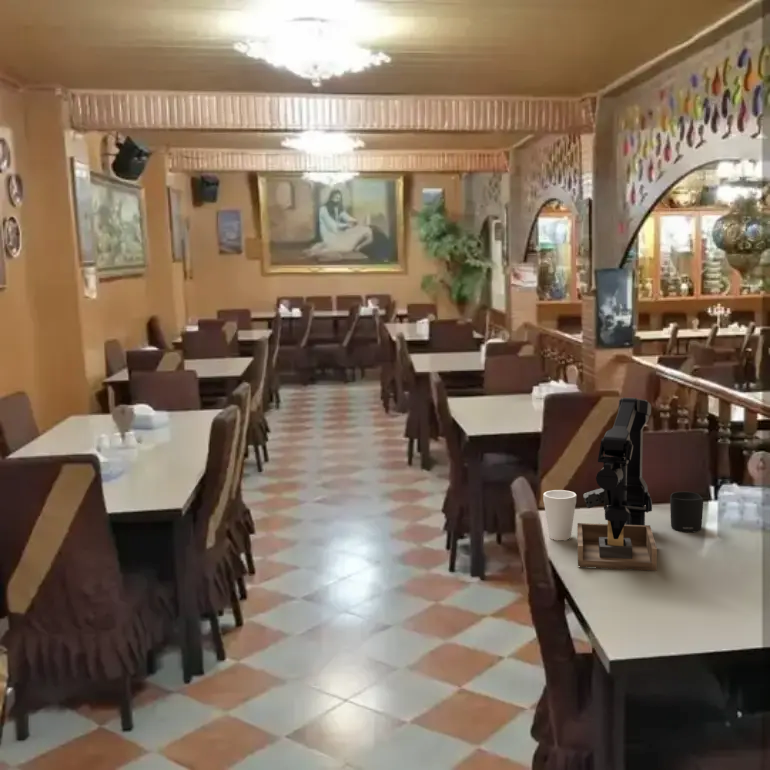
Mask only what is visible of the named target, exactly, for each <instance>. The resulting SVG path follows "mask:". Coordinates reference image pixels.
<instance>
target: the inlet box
mask: <svg viewBox="0 0 770 770" xmlns="http://www.w3.org/2000/svg"><path fill="white" fill-rule="evenodd" d="M654 537H655V536H654V534H653V530H652V528H651V525H648V524H647V525H646V524H645V525H624V530H623V546H612V545H608V543H607V542H608V523H586V522H585V523H582V522H581V523H580V522H577V538H576V539H577V540H576V541H577V543H576V544H578V545H577V567H578V566H580V567H596V568H595V569H601V568H608V569H607V570H624V569H634V570H633V571H647V570H651V571H650V572H652V570H653V572H657V569H658V568H657V566H658V565H657V562H658V560H657V559H658V555H657V553H658V548H657V544H656V541H655V538H654ZM611 568H612V569H611ZM654 570H655V571H654Z"/></svg>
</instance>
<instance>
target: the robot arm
mask: <svg viewBox="0 0 770 770" xmlns="http://www.w3.org/2000/svg"><path fill="white" fill-rule="evenodd" d="M651 414H652V405H651V403H650V402H649V401H648V399H639V398H637V397H623V398H621V397H620V399H619V400H618V410H617V415H616V418H615V420H614V424H613V426H612V428H610V429H608V430H606V432H605V434H604V436H603V438H601V441H600V445H599V452H598V458H597V462H598V463H603V467H602V468H601V469H600V470H599V471H598V472H597V474H596V477H595V480H596V484H597V486H599V488H596V489H594V490H590V491H587V492H585V493H583V494H582V495H583V500H584V503H585V505H586V508H587V509H591V508H594V507H596V506H598V505H599V506H600V505H601V504H603V509H604V520H605V521H608V520H609V521H610V522H611V527H612V533H613V538H614V539H618V537H619V535H620V533H621V531H622V529H623V527H624V525H646V513H649V512H652V511H653V502H652V497H651V496H650V492H648V484H647V483H646V481H645V479H644V478H643V452H644V451H643V450H644V449H643V446H644V445H643V442H644V440H643V438H644V428H645V426H646V425H647V424H648V421H649V419H650V416H651Z"/></svg>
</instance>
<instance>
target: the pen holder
mask: <svg viewBox="0 0 770 770" xmlns="http://www.w3.org/2000/svg"><path fill="white" fill-rule="evenodd" d="M669 498H670V499H669V503H670V505H669V507H670V510H669V511H670V512H669V513H670V527H671V528H672V530H674V529H675V530H674V531H677V530H678V532H681V531H682V532H683V533H696V532H699V531H701V529H702V526H703V525H702V523H703V513H704V512H703V511H704V510H703V509H704V498H703V497H702V496H701V495H700V494H699V493H696V492H692V491H675V492H672V493H671V494H670V495H669Z"/></svg>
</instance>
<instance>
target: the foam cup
mask: <svg viewBox="0 0 770 770" xmlns="http://www.w3.org/2000/svg"><path fill="white" fill-rule="evenodd" d="M542 496H543V500H542V501H543V505H544V511H545V517H546V518H545V519H546V525H547V533H548V538H549V539H550V540H553V539H554V540H553V541H558V540H564V541H568V540H567V539H569V538H570V539H571V538H572V533H573V532H572V531H573V525H574V517H575V509H576V504H577V494H576V492H574V491H570V490H564V489H553V490H547V491H545V492H543V495H542ZM570 539H569V540H570Z"/></svg>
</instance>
